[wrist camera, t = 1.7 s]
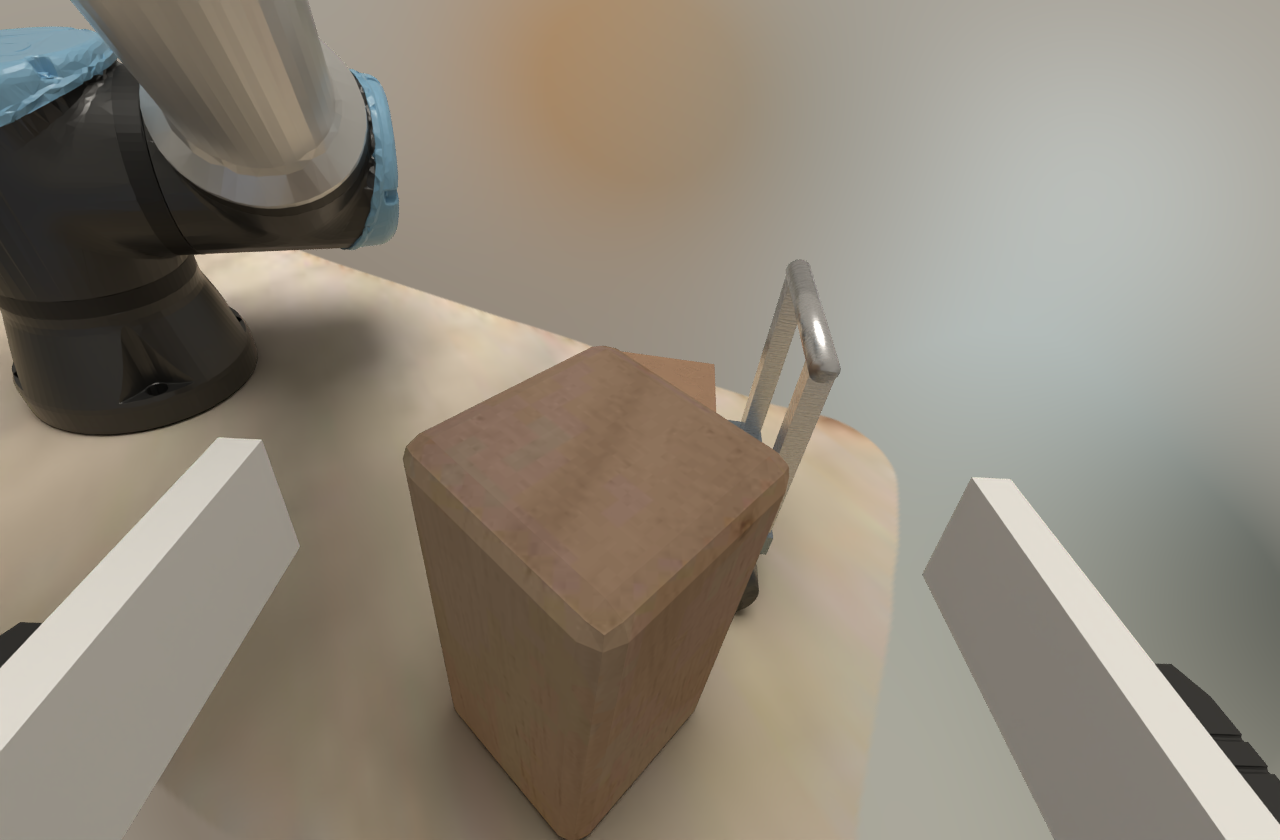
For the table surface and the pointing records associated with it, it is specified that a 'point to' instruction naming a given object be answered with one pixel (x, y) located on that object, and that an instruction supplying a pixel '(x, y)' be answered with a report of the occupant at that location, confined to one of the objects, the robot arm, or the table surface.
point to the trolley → (772, 379)
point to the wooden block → (586, 568)
